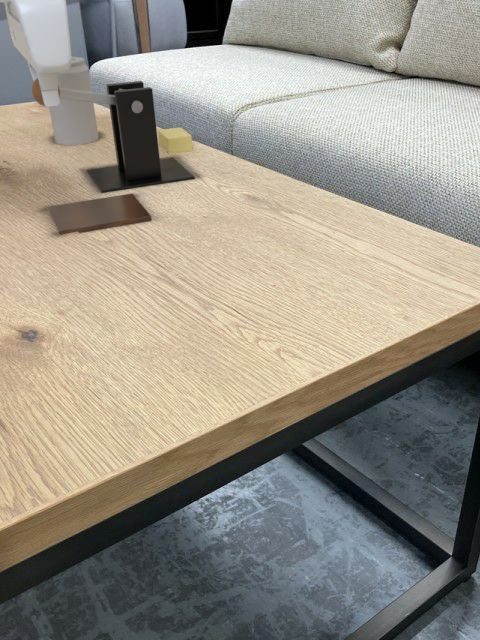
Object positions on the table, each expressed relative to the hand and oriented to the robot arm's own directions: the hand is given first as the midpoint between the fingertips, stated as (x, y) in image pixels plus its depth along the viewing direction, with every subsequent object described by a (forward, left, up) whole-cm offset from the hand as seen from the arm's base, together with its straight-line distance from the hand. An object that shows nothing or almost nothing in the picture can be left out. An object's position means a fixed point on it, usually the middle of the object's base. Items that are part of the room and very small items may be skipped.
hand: (48, 101), depth 82 cm
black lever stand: (+10, 0, -11) cm, 15 cm away
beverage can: (+6, +21, -11) cm, 24 cm away
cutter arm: (+4, 0, -1) cm, 5 cm away
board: (+2, -12, -11) cm, 16 cm away
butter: (+18, +10, -11) cm, 23 cm away
